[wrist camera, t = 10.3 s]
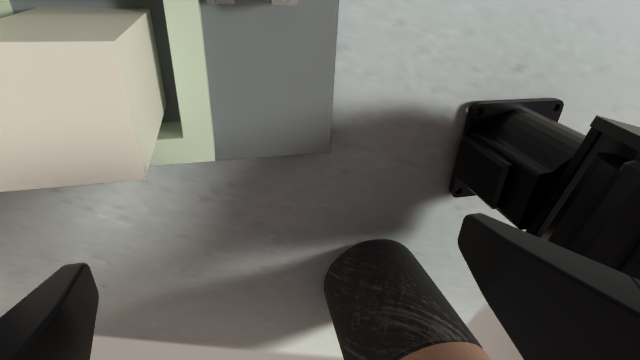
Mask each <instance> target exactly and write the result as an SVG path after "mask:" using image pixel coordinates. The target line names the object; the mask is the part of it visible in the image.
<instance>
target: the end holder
mask: <svg viewBox="0 0 640 360" xmlns="http://www.w3.org/2000/svg"><path fill="white" fill-rule="evenodd" d="M163 4H164V10H165V17H166V24H167V30H168V37H169V44H170V51H171V57H172V64H173V71H174V78H175V84H176V91H177V98H178V104H179V111H180V118H181V121H180V122H161V126H160V129H159V133H158V136H157V140H156V143H155V147H154V150H153V154H152V158H151V161H150V165H149V166H153V165H166V164H180V163H194V162H208V161H215V144H214V134H213V124H212V115H211V105H210V96H209V86H208V76H207V67H206V57H205V48H204V38H203V29H202V19H201V10H200V0H163ZM13 14H14V13H13V10H12V7H11V4H10V1H9V0H0V18H3V17H7V16H10V15H13Z"/></svg>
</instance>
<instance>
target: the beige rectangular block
mask: <svg viewBox="0 0 640 360" xmlns="http://www.w3.org/2000/svg"><path fill="white" fill-rule="evenodd" d="M165 108H166V98H165V92H164V87H163V81H162V75H161V69H160V63H159V57H158V52H157V46H156V40H155V34H154V28H153V23H152V17H151V11H150V9H130V8H47V7H37V8H33V9H30V10H27V11H23V12H20V13H17V14H13V15H10V16H7V17H3V18H0V192H7V191H19V190H30V189H42V188H54V187H66V186H77V185H89V184H101V183H112V182H124V181H136V180H145V179H146V175H147V172H148V168H149V165H150V161H151V158H152V154H153V150H154V147H155V143H156V140H157V136H158V133H159V129H160V126H161V122H162V119H163V115H164V111H165Z"/></svg>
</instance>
